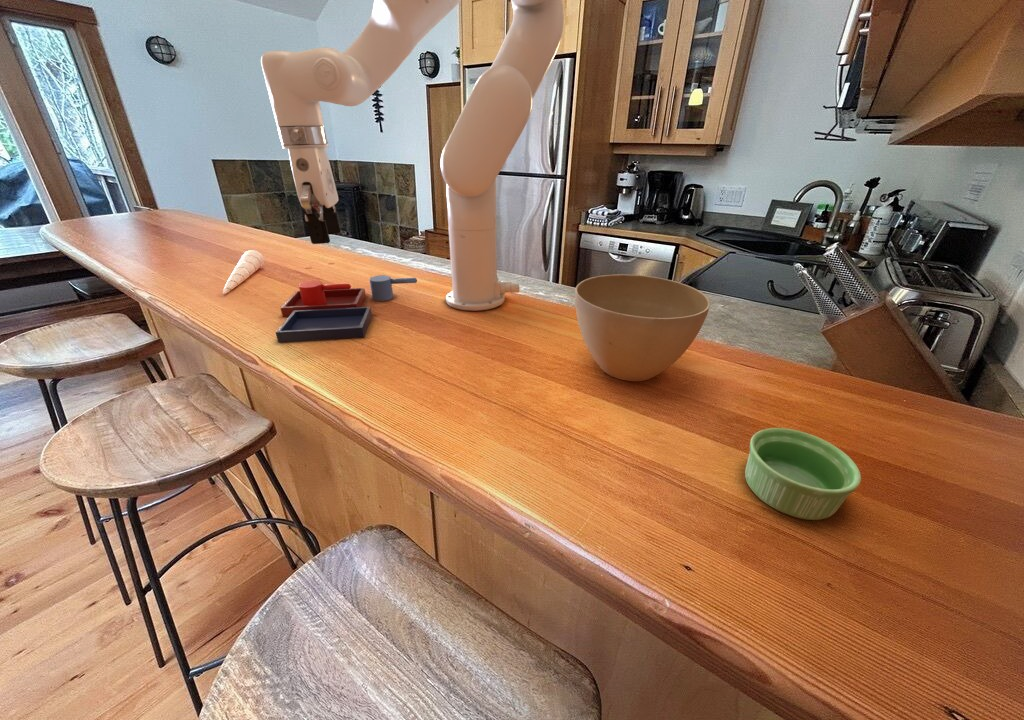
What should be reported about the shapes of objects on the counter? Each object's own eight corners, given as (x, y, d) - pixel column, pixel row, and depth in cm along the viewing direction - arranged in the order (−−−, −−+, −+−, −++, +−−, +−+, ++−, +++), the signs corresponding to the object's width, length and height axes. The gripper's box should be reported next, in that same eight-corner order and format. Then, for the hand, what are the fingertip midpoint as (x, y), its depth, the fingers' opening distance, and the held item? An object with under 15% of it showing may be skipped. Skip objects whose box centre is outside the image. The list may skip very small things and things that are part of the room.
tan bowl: (601, 410, 53) (613, 324, 48) (552, 349, 69) (556, 278, 63) (718, 390, 58) (742, 309, 52) (648, 337, 73) (660, 270, 67)
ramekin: (819, 543, 36) (838, 508, 34) (721, 482, 42) (732, 449, 40) (857, 497, 41) (876, 463, 38) (764, 448, 47) (776, 417, 45)
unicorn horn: (205, 297, 90) (197, 275, 88) (248, 267, 111) (242, 249, 109) (228, 296, 91) (221, 274, 89) (266, 267, 112) (261, 249, 109)
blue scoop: (419, 292, 94) (417, 273, 91) (418, 299, 90) (416, 279, 88) (374, 294, 92) (370, 275, 90) (371, 301, 88) (367, 281, 86)
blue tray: (372, 315, 81) (370, 306, 80) (363, 337, 72) (362, 327, 72) (296, 319, 79) (293, 310, 78) (278, 342, 71) (275, 332, 70)
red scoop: (355, 299, 88) (352, 279, 86) (352, 306, 85) (348, 285, 83) (307, 301, 87) (302, 281, 85) (301, 309, 83) (295, 288, 81)
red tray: (365, 296, 91) (364, 287, 90) (357, 313, 83) (356, 304, 82) (298, 299, 89) (296, 290, 89) (282, 317, 81) (280, 307, 80)
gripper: (313, 138, 66) (338, 246, 74) (336, 138, 81) (354, 228, 89) (263, 139, 65) (293, 249, 73) (296, 139, 80) (317, 230, 88)
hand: (327, 237), depth 81 cm, fingers open, 9 cm apart
